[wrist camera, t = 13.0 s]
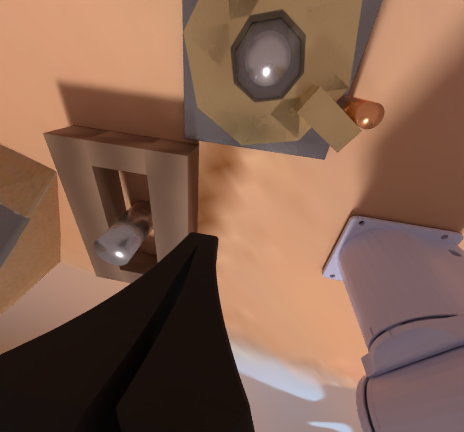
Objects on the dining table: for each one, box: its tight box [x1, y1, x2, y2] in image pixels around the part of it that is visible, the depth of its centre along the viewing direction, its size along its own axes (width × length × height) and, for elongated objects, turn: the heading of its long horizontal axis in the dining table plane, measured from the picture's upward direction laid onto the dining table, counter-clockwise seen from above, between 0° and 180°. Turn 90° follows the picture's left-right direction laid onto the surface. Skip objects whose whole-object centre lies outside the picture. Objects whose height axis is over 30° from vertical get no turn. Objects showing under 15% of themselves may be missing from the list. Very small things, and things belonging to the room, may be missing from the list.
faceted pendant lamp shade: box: [183, 0, 362, 152], centre depth 12 cm, size 9×10×4 cm
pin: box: [94, 201, 153, 265], centre depth 20 cm, size 3×3×6 cm
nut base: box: [182, 0, 384, 160], centre depth 12 cm, size 12×11×5 cm
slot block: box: [43, 125, 199, 283], centre depth 21 cm, size 11×16×3 cm
